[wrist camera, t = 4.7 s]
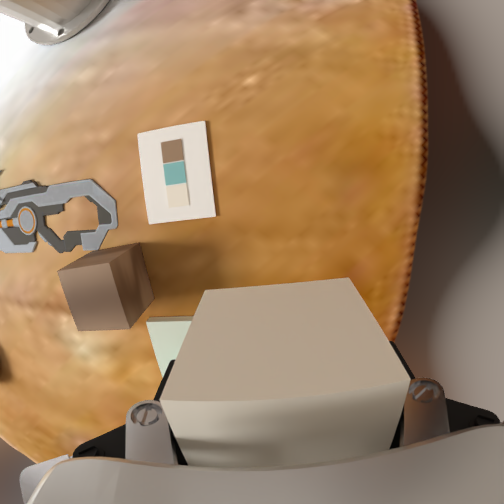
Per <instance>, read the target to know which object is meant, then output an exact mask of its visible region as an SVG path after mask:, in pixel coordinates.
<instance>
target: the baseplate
mask: <svg viewBox="0 0 504 504" xmlns="http://www.w3.org/2000/svg"><path fill="white" fill-rule="evenodd" d="M193 317H194V316H176V317H149V319H148V320H147V321H146V324H147V327H148V331H149V334H150V338H151V341H152V345H153V348H154V352H155V355H156V358H157V361H158V365H159V368H160V371H161V374H162V377H163V376H164V374H165V372H166V369H167V367H168V365H169V363H170V361H171V360H176V358H177V355H178V353H179V350H180V348H181V346H182V343H183V341H184V338H185V336H186V334H187V331H188V329H189V326H190V324H191V322H192V319H193Z"/></svg>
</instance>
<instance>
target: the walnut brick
mask: <svg viewBox="0 0 504 504" xmlns="http://www.w3.org/2000/svg"><path fill="white" fill-rule="evenodd" d="M57 272H58V275H59V278H60V281H61V285H62V288H63V291H64V294H65V297H66V299H67V302H68V305H69V308H70V311H71V313H72V316H73V319H74V321H75V324H76V326H77V329H78V331H96V330H121V329H130V328H131V327H132V326H133V325H134V323H135V322H136V321H137V320H138V318H139V317H140V316H141V315H142V313H143V312H144V311H145V310H146V308H147V307H148V306H149V305H150V304H151V302H152V301H153V300H154V299H155V298H154V295H153V291H152V288H151V284H150V280H149V277H148V273H147V269H146V265H145V262H144V258H143V254H142V250H141V246H140V243H134V244H129V245H123V246H118V247H112V248H107V249H102V250H96V251H92V252H90V253H88V254H86V255H85V256H83V257H81V258H79V259H78V260H76V261H74V262H72V263H70V264H69V265H67V266H65V267H64V268H62V269H60V270H58V271H57Z"/></svg>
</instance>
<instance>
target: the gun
mask: <svg viewBox="0 0 504 504" xmlns="http://www.w3.org/2000/svg"><path fill="white" fill-rule="evenodd" d="M1 171H2V170H1ZM1 171H0V172H1ZM80 196H85V197H86V198H87V199H88V200H89V201H90V202H93V203H94V204H95V205H96V206H97V210H98V219H99V226H98V228H97V230H82V231H67V232H66V234H65V235H64V237H63V238H64V240H61V239H60V238H59V237H58V236H57V235H56V234H55V233H54V232H53V231H52V229H51V228H48V227H47V226H46V225H45V217H44V215H53V214H59V212H62V211H64V208H63V203H67V202H68V201H69V200H70V199H71V198H72V197H80ZM3 204H6V205H7V206H6V207H5V209H4V210H1V211H0V220H1V221H0V227H3V228H0V250H1V251H3V252H5V253H26V252H34V249H35V247H36V244H37V241H36V236H35V233H36V232H37V231H38V233H39V235H40V236H41V238H42V239H43V240H44V241H45V242H47V241H48V244H49V245H50V246H53V247H54V248H55V249H56V250H57V251H58V252H59V253H63V252H64V251H66V252H71V251H72V249H73V248H74V247H75V246H76V245H82V246H83V250H99V248H100V246H101V244H102V242H103V240H104V238H105V236H106V234H107V232H108V230H109V229H116V228H117V226H118V219H117V210H116V200H114V199H113V198H112V197H111V196H110V195H109V194H108V193H107V192H105V191H104V190H103V189H102V188H101V187H100V186H99V185H98V184H96V183H95V182H94V181H93V180H92V179H87V180H80V181H73V182H67V183H61V184H55V185H50V186H49V187H47V186H38V185H37V183H36V182H32V180H29V181H24V182H23V183H22V184H21V185H19V186H15V187H11V188H6V189H2V190H0V208H1V206H2V205H3ZM11 218H13V219H12V220H7V219H11ZM8 226H14V227H8Z"/></svg>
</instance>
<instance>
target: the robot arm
mask: <svg viewBox="0 0 504 504" xmlns="http://www.w3.org/2000/svg"><path fill="white" fill-rule="evenodd" d="M108 2H109V0H0V13H2V14H5V15H7V16H10V17H12V18H15V19H17V20H20V21H22V22H24V23H25V30H26V34H27V36H28V38H29V39H30V40H31V41H33V42H35V43H37V44H41V45H53V44H57V43H60V42H62V41H64V40H66V39H68V38H70V37H72V36H73V35H75V34H76V33H78V32H79V31H80V30H82V29H83V28H84V27H86V26H87V25H88V24H89V23H90V22H91V21H92V20H93V19H94V18H95V17H96V16H97V15H98V14H99V13H100V12H101V11H102V10H103V8H104V7H105V6H106V4H107V3H108ZM389 343H390V344H391V346H392V348H393V349H394V351H395V353H396V354H397V356H398V358H399V359H400V361H401V363H402V365H403V366H404V368H405V370H406V372H407V373H408V375H409V377H410V379H411V380H410V384H409V388H408V392H407V395H406V399H405V402H404V406H403V409H402V413H401V416H400V419H399V422H398V425H397V428H396V432H395V434H394V437H393V440H392V443H391V446H390V449H389V450H386V451H382V452H377V453H372V454H368V455H362V456H357V457H352V458H346V459H339V460H333V461H326V462H318V463H309V464H299V465H288V466H272V467H201V466H188V463H187V461H186V459H185V457H184V455H183V453H182V451H181V449H180V447H179V445H178V442H177V440H176V438H175V436H174V433H173V431H172V429H171V427H170V424H169V422H168V420H167V417H166V415H165V412H164V410H163V408H162V405H161V403H160V397H161V395H162V392H163V390H164V387H165V385H166V382H167V380H168V377H169V375H170V372H171V370H172V367H173V365H174V362H175V360H171V361H170V363H169V365H168V367H167V369H166V372H165V374H164V376H163V379H162V381H161V383H160V386H159V388H158V390H157V393H156V395H155V398H154V400H145V401H141V402H139V403H137V404H135V405H133V406H132V407H131V408H130V409H129V411H128V412H127V416H126V424H125V425H123V426H120V427H118V428H116V429H114V430H112V431H110V432H107V433H105V434H103V435H101V436H99V437H96V438H94V439H92V440H89V441H87V442H85V443H83V444H81V445H79V446H78V447H77V448H76V449H75V451H74V453H73V456H71V457H69V455H68V454H66V455H64V456H61V457H58V458H54V459H51V460H48V461H45V462H42V463H39V464H35V465H32V466H29V467H27V468H25V469H24V470H23V471H22V473H21V475H20V486H21V491H22V495H23V501H24V504H504V421H503V422H500V420H499V419H498V417H497V416H496V415H495V414H494V413H493V412H490V411H488V410H484V409H481V408H477V407H474V406H470V405H467V404H464V403H460V402H457V401H454V400H450V399H447V398H445V393H444V389H443V387H442V386H441V384H440V383H439V382H437V381H436V380H434V379H431V378H424V377H422V378H415V377H414V375H413V373H412V372H411V370H410V368H409V367H408V365H407V363H406V362H405V360H404V359H403V357H402V355H401V353H400V352H399V350H398V348H397V347H396V345H395V344H394V342H392V341H389Z"/></svg>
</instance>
